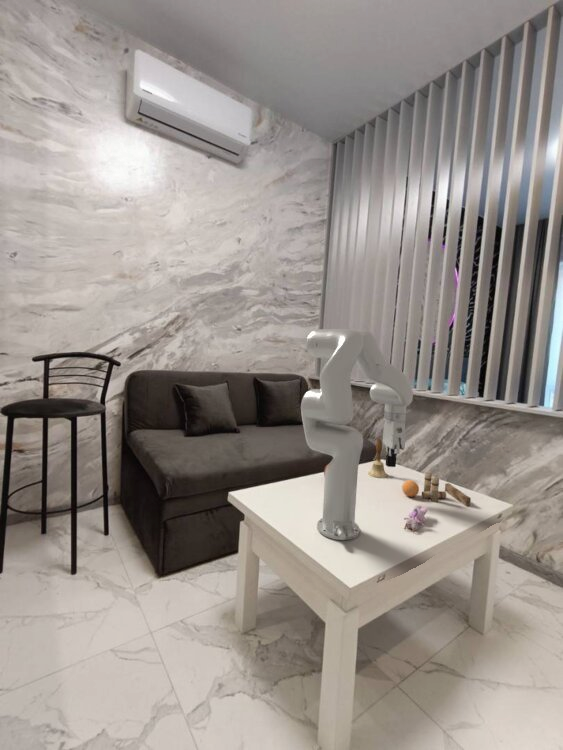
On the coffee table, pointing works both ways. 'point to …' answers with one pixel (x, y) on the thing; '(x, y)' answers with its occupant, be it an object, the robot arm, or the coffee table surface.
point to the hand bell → (378, 464)
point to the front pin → (428, 494)
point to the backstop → (457, 494)
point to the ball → (410, 488)
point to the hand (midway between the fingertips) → (390, 466)
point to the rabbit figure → (415, 518)
